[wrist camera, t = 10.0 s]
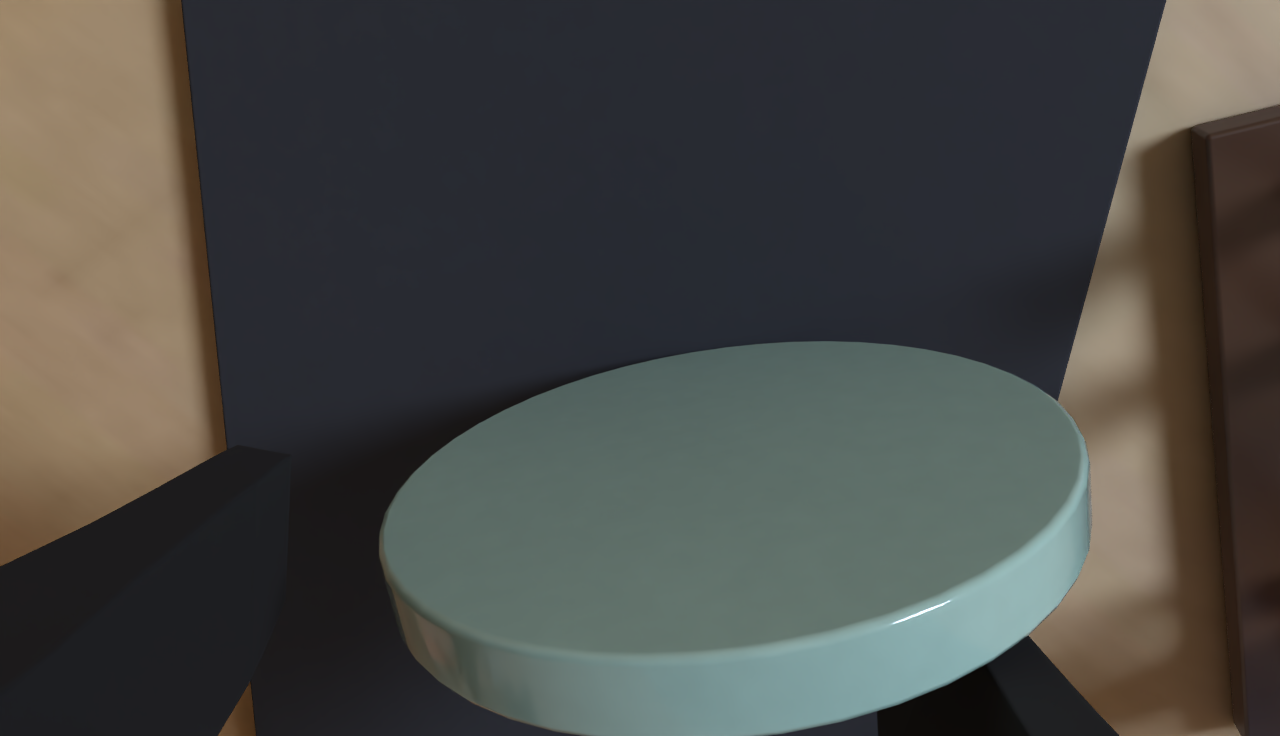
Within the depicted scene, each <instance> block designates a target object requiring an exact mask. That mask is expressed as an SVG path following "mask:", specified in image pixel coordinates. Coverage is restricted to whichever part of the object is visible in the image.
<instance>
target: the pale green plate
mask: <svg viewBox="0 0 1280 736" xmlns="http://www.w3.org/2000/svg"><path fill="white" fill-rule="evenodd" d="M1091 530H1092V505H1091V474H1090V460H1089V455H1088V450H1087V445H1086V442H1085V440H1084V438H1083V436H1082V434H1081V432H1080V430H1079V429H1078V427H1077V425H1076V423H1075V421H1074V419H1073V418H1072V417H1071V415H1070V414H1069V413H1068V412H1067V411H1066V410H1065V409H1064V408H1063V407H1062V406H1061V405H1060V404H1059V402H1058V401H1056V400H1055V399H1054V398H1052V397H1051V396H1049V395H1048V394H1047V393H1045V392H1044V391H1043V390H1041V389H1040V388H1039V387H1037V386H1035V385H1033V384H1031V383H1029V382H1028V381H1026V380H1024V379H1022V378H1020V377H1018V376H1016V375H1014V374H1012V373H1009V372H1007V371H1004V370H1001V369H999V368H996V367H994V366H991V365H989V364H985V363H982V362H978V361H975V360H971V359H968V358H964V357H961V356H957V355H952V354H947V353H942V352H937V351H933V350H928V349H920V348H913V347H906V346H899V345H889V344H877V343H864V342H837V341H810V342H782V343H766V344H754V345H744V346H734V347H725V348H718V349H711V350H705V351H698V352H691V353H686V354H681V355H675V356H670V357H665V358H659V359H655V360H651V361H646V362H642V363H638V364H633V365H629V366H625V367H621V368H618V369H614V370H611V371H607V372H604V373H600V374H596V375H593V376H590V377H587V378H584V379H581V380H578V381H575V382H572V383H569V384H566V385H563V386H560V387H558V388H555V389H552V390H550V391H547V392H545V393H542V394H540V395H537V396H534V397H532V398H530V399H528V400H525V401H523V402H521V403H519V404H516V405H514V406H512V407H510V408H508V409H505V410H503V411H501V412H499V413H497V414H496V415H494V416H492V417H490V418H488V419H486V420H484V421H482V422H480V423H479V424H477V425H475V426H473V427H472V428H470V429H469V430H467V431H465V432H464V433H462V434H461V435H459V436H457V437H456V438H454V439H453V440H451V441H450V442H449V443H447V444H446V445H445V446H443V447H442V448H441V449H439V450H438V451H437V452H435V453H434V454H433V455H431V456H430V457H429V458H428V459H427V460H426V461H425V462H424V463H422V464H421V465H420V466H419V467H418V468H417V469H416V470H415V471H414V472H413V473H412V474H411V475H410V476H409V477H408V479H407V480H406V481H405V482H404V484H403V485H402V486H401V487H400V489H399V490H398V491H397V492H396V494H395V496H394V497H393V499H392V501H391V503H390V505H389V506H388V508H387V510H386V512H385V515H384V519H383V522H382V526H381V529H380V533H379V562H380V566H381V569H382V573H383V577H384V580H385V584H386V588H387V591H388V595H389V599H390V602H391V606H392V610H393V613H394V617H395V620H396V623H397V626H398V629H399V632H400V635H401V638H402V639H403V641H404V642H405V644H406V645H407V647H408V648H409V650H410V651H411V653H412V655H413V656H414V658H415V659H416V660H417V661H418V662H419V663H420V664H421V665H422V666H423V667H424V668H425V669H426V670H427V671H428V672H429V673H430V674H431V675H432V676H433V677H434V678H436V679H437V680H438V681H439V682H440V683H441V684H442V685H444V686H445V687H447V688H448V689H450V690H452V691H453V692H455V693H456V694H458V695H460V696H461V697H463V698H464V699H466V700H468V701H469V702H471V703H473V704H475V705H478V706H480V707H482V708H485V709H487V710H489V711H492V712H494V713H496V714H499V715H501V716H503V717H506V718H508V719H511V720H515V721H519V722H522V723H526V724H529V725H533V726H537V727H540V728H544V729H548V730H551V731H555V732H562V733H568V734H574V735H580V736H768V735H777V734H784V733H789V732H794V731H799V730H804V729H808V728H813V727H818V726H823V725H828V724H833V723H838V722H842V721H846V720H849V719H852V718H856V717H859V716H862V715H866V714H869V713H872V712H876V711H879V710H882V709H886V708H889V707H892V706H896V705H899V704H901V703H904V702H906V701H909V700H911V699H914V698H916V697H918V696H921V695H923V694H926V693H928V692H931V691H933V690H936V689H938V688H941V687H943V686H946V685H948V684H950V683H952V682H954V681H956V680H958V679H959V678H961V677H963V676H965V675H967V674H969V673H971V672H972V671H974V670H976V669H978V668H980V667H982V666H984V665H985V664H987V663H989V662H991V661H993V660H994V659H996V658H997V657H999V656H1000V655H1001V654H1003V653H1004V652H1006V651H1007V650H1008V649H1010V648H1011V647H1013V646H1014V645H1015V644H1017V643H1018V642H1020V641H1021V640H1022V639H1024V638H1025V637H1027V636H1028V635H1029V634H1030V633H1031V632H1032V631H1034V630H1035V629H1036V628H1037V627H1038V626H1039V625H1040V624H1041V623H1042V622H1043V621H1044V620H1045V619H1046V618H1047V617H1048V616H1049V615H1050V614H1051V613H1052V612H1053V611H1054V610H1055V609H1056V608H1057V607H1058V606H1059V604H1060V603H1061V601H1062V600H1063V598H1064V597H1065V596H1066V594H1067V593H1068V591H1069V590H1070V589H1071V587H1072V586H1073V584H1074V583H1075V582H1076V580H1077V578H1078V576H1079V573H1080V571H1081V568H1082V566H1083V563H1084V561H1085V559H1086V556H1087V554H1088V551H1089V547H1090V539H1091Z"/></svg>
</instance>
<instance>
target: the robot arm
mask: <svg viewBox="0 0 1280 736" xmlns="http://www.w3.org/2000/svg"><path fill="white" fill-rule="evenodd" d="M290 479H291V455H290V454H285V453H280V452H274V451H269V450H263V449H258V448H252V447H247V446H242V445H236V446H234V447H232V448H230V449H228V450H226V451H224V452H222V453H220V454H218V455H216V456H214V457H212V458H210V459H209V460H207V461H205V462H203V463H201V464H199V465H198V466H196V467H194V468H192V469H190V470H189V471H187V472H185V473H183V474H181V475H180V476H178V477H176V478H174V479H172V480H170V481H169V482H167V483H165V484H163V485H161V486H160V487H158V488H156V489H154V490H152V491H150V492H149V493H147V494H145V495H143V496H141V497H139V498H137V499H136V500H134V501H132V502H130V503H128V504H126V505H124V506H122V507H121V508H119V509H117V510H115V511H113V512H111V513H109V514H107V515H106V516H104V517H102V518H100V519H98V520H96V521H94V522H92V523H90V524H88V525H86V526H84V527H82V528H80V529H78V530H76V531H74V532H72V533H70V534H68V535H65V536H63V537H61V538H59V539H57V540H55V541H53V542H51V543H49V544H47V545H45V546H43V547H40V548H38V549H36V550H34V551H32V552H30V553H28V554H26V555H24V556H22V557H20V558H17V559H15V560H13V561H11V562H9V563H7V564H5V565H3V566H0V736H218V734H219V732H220V731H221V729H222V727H223V726H224V724H225V722H226V721H227V719H228V718H229V716H230V714H231V713H232V711H233V709H234V708H235V706H236V704H237V703H238V701H239V699H240V698H241V696H242V694H243V693H244V691H245V689H246V687H247V686H248V684H249V682H250V681H251V679H252V677H253V675H254V672H255V670H256V668H257V666H258V664H259V662H260V659H261V657H262V655H263V653H264V651H265V648H266V646H267V644H268V642H269V639H270V637H271V635H272V632H273V630H274V628H275V625H276V623H277V621H278V618H279V616H280V613H281V611H282V609H283V606H284V604H285V602H286V580H287V555H288V530H289V504H290ZM877 724H878V736H1119V735H1118V734H1117V733H1116V732H1115V731H1114V730H1113V728H1112V727H1111V726H1110V725H1109V724H1108V723H1107V722H1106V721H1105V720H1104V719H1103V718H1102V717H1101V716H1100V715H1099V714H1098V713H1097V712H1096V711H1095V709H1094V708H1093V707H1092V706H1091V705H1090V704H1089V703H1088V702H1087V701H1086V700H1085V699H1084V698H1083V696H1082V695H1081V694H1080V693H1079V692H1078V691H1077V690H1076V689H1075V688H1074V687H1073V685H1072V684H1071V683H1070V682H1069V681H1068V680H1067V679H1066V678H1065V677H1064V675H1063V674H1062V673H1061V672H1060V671H1059V670H1058V669H1057V668H1056V666H1055V665H1054V664H1053V663H1052V662H1051V661H1050V660H1049V659H1048V657H1047V656H1046V655H1045V654H1044V653H1043V652H1042V651H1041V649H1040V648H1039V647H1038V646H1037V645H1036V644H1035V643H1034V641H1033V640H1032V639H1031V638H1030V637H1029V636H1027V637H1025V638H1024V639H1022V640H1021V641H1020V642H1018V643H1017V644H1015V645H1014V646H1013V647H1011V648H1010V649H1008V650H1007V651H1006V652H1004V653H1003V654H1001V655H1000V656H999V657H997V658H996V659H994V660H993V661H991V662H989V663H987V664H985V665H984V666H982V667H980V668H978V669H976V670H974V671H972V672H971V673H969V674H967V675H965V676H963V677H961V678H959V679H958V680H956V681H954V682H952V683H950V684H948V685H946V686H943V687H941V688H938V689H936V690H933V691H931V692H928V693H926V694H923V695H921V696H918V697H916V698H914V699H911V700H909V701H906V702H904V703H901V704H899V705H896V706H892V707H889V708H886V709H882V710H879V711H877Z"/></svg>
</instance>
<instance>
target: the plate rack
mask: <svg viewBox="0 0 1280 736" xmlns="http://www.w3.org/2000/svg"><path fill="white" fill-rule="evenodd" d="M1191 137H1192V151H1193V165H1194V178H1195V192H1196V206H1197V220H1198V234H1199V248H1200V262H1201V275H1202V289H1203V303H1204V317H1205V331H1206V345H1207V359H1208V372H1209V386H1210V400H1211V414H1212V428H1213V442H1214V456H1215V469H1216V483H1217V497H1218V511H1219V525H1220V539H1221V553H1222V566H1223V580H1224V594H1225V608H1226V622H1227V636H1228V650H1229V663H1230V677H1231V691H1232V705H1233V719H1234V724H1235V726H1236V728H1237V729H1238V731H1239V733H1240V734H1241V736H1280V105H1278V106H1274V107H1270V108H1266V109H1262V110H1258V111H1254V112H1250V113H1245V114H1241V115H1237V116H1233V117H1229V118H1225V119H1221V120H1217V121H1213V122H1209V123H1204V124H1200V125H1196V126H1194V127H1193V128H1192V130H1191Z"/></svg>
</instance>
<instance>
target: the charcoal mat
mask: <svg viewBox="0 0 1280 736" xmlns="http://www.w3.org/2000/svg"><path fill="white" fill-rule="evenodd" d="M181 2H182V12H183V22H184V32H185V41H186V51H187V61H188V71H189V81H190V91H191V100H192V110H193V120H194V130H195V140H196V150H197V159H198V169H199V179H200V189H201V199H202V209H203V218H204V228H205V238H206V248H207V258H208V267H209V277H210V287H211V297H212V307H213V317H214V326H215V336H216V346H217V356H218V366H219V376H220V385H221V395H222V405H223V415H224V425H225V435H226V444H227V450H228V449H230V448H232V447H234V446H236V445H242V446H247V447H252V448H258V449H263V450H269V451H274V452H280V453H285V454H290V455H291V479H290V504H289V530H288V555H287V580H286V602H285V604H284V606H283V609H282V611H281V613H280V616H279V618H278V621H277V623H276V625H275V628H274V630H273V632H272V635H271V637H270V639H269V642H268V644H267V646H266V648H265V651H264V653H263V655H262V657H261V659H260V662H259V664H258V666H257V668H256V670H255V672H254V675H253V677H252V679H251V690H252V700H253V710H254V720H255V730H256V736H580V735H574V734H568V733H562V732H555V731H551V730H548V729H544V728H540V727H537V726H533V725H529V724H526V723H522V722H519V721H515V720H511V719H508V718H506V717H503V716H501V715H499V714H496V713H494V712H492V711H489V710H487V709H485V708H482V707H480V706H478V705H475V704H473V703H471V702H469V701H468V700H466V699H464V698H463V697H461V696H460V695H458V694H456V693H455V692H453V691H452V690H450V689H448V688H447V687H445V686H444V685H442V684H441V683H440V682H439V681H438V680H437V679H436V678H434V677H433V676H432V675H431V674H430V673H429V672H428V671H427V670H426V669H425V668H424V667H423V666H422V665H421V664H420V663H419V662H418V661H417V660H416V659H415V658H414V656H413V655H412V653H411V651H410V650H409V648H408V647H407V645H406V644H405V642H404V641H403V639H402V638H401V635H400V632H399V629H398V626H397V623H396V620H395V617H394V613H393V610H392V606H391V602H390V599H389V595H388V591H387V588H386V584H385V580H384V577H383V573H382V569H381V566H380V562H379V533H380V529H381V526H382V522H383V519H384V515H385V512H386V510H387V508H388V506H389V505H390V503H391V501H392V499H393V497H394V496H395V494H396V492H397V491H398V490H399V489H400V487H401V486H402V485H403V484H404V482H405V481H406V480H407V479H408V477H409V476H410V475H411V474H412V473H413V472H414V471H415V470H416V469H417V468H418V467H419V466H420V465H421V464H422V463H424V462H425V461H426V460H427V459H428V458H429V457H430V456H431V455H433V454H434V453H435V452H437V451H438V450H439V449H441V448H442V447H443V446H445V445H446V444H447V443H449V442H450V441H451V440H453V439H454V438H456V437H457V436H459V435H461V434H462V433H464V432H465V431H467V430H469V429H470V428H472V427H473V426H475V425H477V424H479V423H480V422H482V421H484V420H486V419H488V418H490V417H492V416H494V415H496V414H497V413H499V412H501V411H503V410H505V409H508V408H510V407H512V406H514V405H516V404H519V403H521V402H523V401H525V400H528V399H530V398H532V397H534V396H537V395H540V394H542V393H545V392H547V391H550V390H552V389H555V388H558V387H560V386H563V385H566V384H569V383H572V382H575V381H578V380H581V379H584V378H587V377H590V376H593V375H596V374H600V373H604V372H607V371H611V370H614V369H618V368H621V367H625V366H629V365H633V364H638V363H642V362H646V361H651V360H655V359H659V358H665V357H670V356H675V355H681V354H686V353H691V352H698V351H705V350H711V349H718V348H725V347H734V346H744V345H754V344H766V343H782V342H810V341H837V342H864V343H877V344H889V345H899V346H906V347H913V348H920V349H928V350H933V351H937V352H942V353H947V354H952V355H957V356H961V357H964V358H968V359H971V360H975V361H978V362H982V363H985V364H989V365H991V366H994V367H996V368H999V369H1001V370H1004V371H1007V372H1009V373H1012V374H1014V375H1016V376H1018V377H1020V378H1022V379H1024V380H1026V381H1028V382H1029V383H1031V384H1033V385H1035V386H1037V387H1039V388H1040V389H1041V390H1043V391H1044V392H1045V393H1047V394H1048V395H1049V396H1051V397H1052V398H1054V399H1055V400H1056V401H1058V398H1059V394H1060V390H1061V387H1062V383H1063V379H1064V375H1065V372H1066V368H1067V364H1068V361H1069V357H1070V353H1071V350H1072V346H1073V342H1074V339H1075V335H1076V331H1077V328H1078V324H1079V320H1080V316H1081V313H1082V309H1083V305H1084V302H1085V298H1086V294H1087V291H1088V287H1089V283H1090V280H1091V276H1092V272H1093V269H1094V265H1095V261H1096V257H1097V254H1098V250H1099V246H1100V243H1101V239H1102V235H1103V232H1104V228H1105V224H1106V221H1107V217H1108V213H1109V210H1110V206H1111V202H1112V198H1113V195H1114V191H1115V187H1116V184H1117V180H1118V176H1119V173H1120V169H1121V165H1122V162H1123V158H1124V154H1125V151H1126V147H1127V143H1128V139H1129V136H1130V132H1131V128H1132V125H1133V121H1134V117H1135V114H1136V110H1137V106H1138V103H1139V99H1140V95H1141V92H1142V88H1143V84H1144V80H1145V77H1146V73H1147V69H1148V66H1149V62H1150V58H1151V55H1152V51H1153V47H1154V44H1155V40H1156V36H1157V32H1158V29H1159V25H1160V21H1161V18H1162V14H1163V10H1164V7H1165V3H1166V0H181ZM768 736H878V724H877V711H876V712H872V713H869V714H866V715H862V716H859V717H856V718H852V719H849V720H846V721H842V722H838V723H833V724H828V725H823V726H818V727H813V728H808V729H804V730H799V731H794V732H789V733H784V734H777V735H768Z"/></svg>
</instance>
